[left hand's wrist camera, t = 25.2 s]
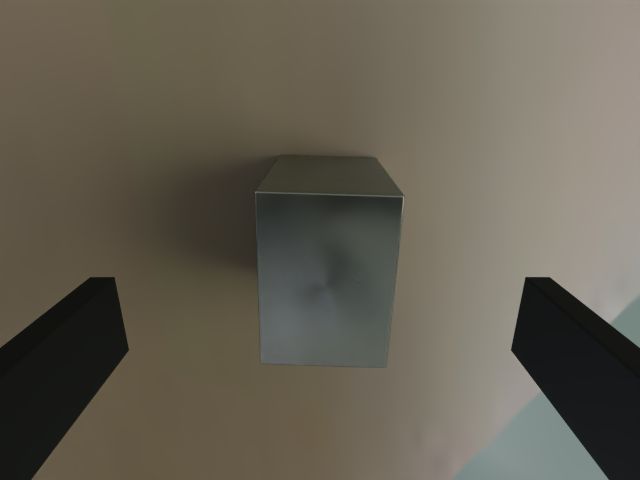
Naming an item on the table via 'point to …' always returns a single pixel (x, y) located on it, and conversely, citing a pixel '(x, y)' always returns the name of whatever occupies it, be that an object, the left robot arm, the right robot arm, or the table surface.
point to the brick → (327, 261)
